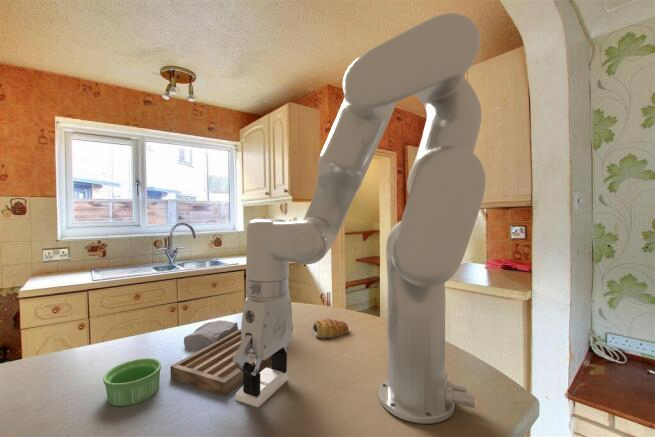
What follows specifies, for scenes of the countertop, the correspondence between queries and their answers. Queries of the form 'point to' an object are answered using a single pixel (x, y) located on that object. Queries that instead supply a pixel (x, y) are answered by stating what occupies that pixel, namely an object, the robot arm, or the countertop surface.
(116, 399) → the ramekin
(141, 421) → the countertop surface
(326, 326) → the pastry
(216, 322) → the stone block
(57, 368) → the countertop surface
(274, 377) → the soap bar
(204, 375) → the drying rack
